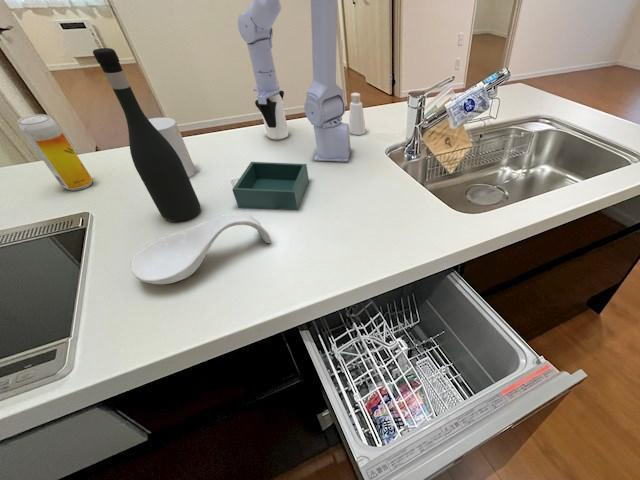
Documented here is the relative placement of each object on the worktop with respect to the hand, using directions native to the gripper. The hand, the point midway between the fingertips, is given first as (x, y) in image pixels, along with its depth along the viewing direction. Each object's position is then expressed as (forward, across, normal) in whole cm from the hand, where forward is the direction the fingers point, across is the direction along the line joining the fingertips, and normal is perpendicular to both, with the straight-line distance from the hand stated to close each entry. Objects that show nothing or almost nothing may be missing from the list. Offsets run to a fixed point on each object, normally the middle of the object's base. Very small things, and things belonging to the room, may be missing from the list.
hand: (275, 122), depth 104 cm
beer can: (+4, +34, -39) cm, 52 cm away
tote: (+4, +34, +8) cm, 35 cm away
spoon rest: (+4, +59, +2) cm, 59 cm away
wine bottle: (+4, +44, -10) cm, 45 cm away
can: (+4, 0, 0) cm, 4 cm away
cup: (+4, +26, -19) cm, 32 cm away
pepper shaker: (+4, -6, +24) cm, 25 cm away
